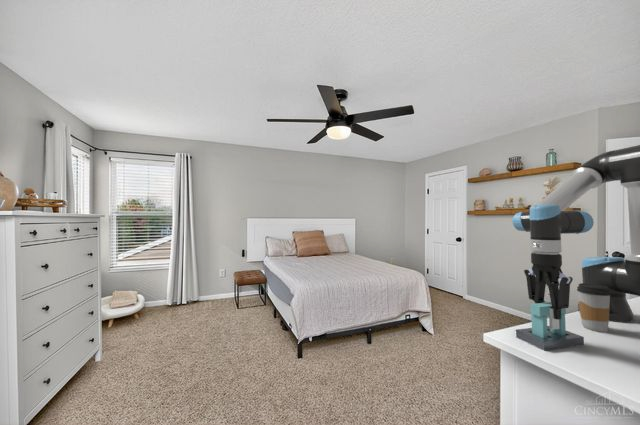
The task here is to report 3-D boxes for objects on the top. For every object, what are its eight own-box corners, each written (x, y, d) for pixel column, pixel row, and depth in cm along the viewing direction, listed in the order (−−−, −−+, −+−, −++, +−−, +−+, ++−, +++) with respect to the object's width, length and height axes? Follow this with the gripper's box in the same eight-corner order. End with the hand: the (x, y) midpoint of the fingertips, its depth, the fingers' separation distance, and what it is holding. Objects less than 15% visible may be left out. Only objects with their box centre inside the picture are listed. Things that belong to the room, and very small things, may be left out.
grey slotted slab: (553, 332, 89) (552, 325, 90) (584, 345, 81) (583, 337, 81) (516, 337, 87) (516, 329, 87) (544, 350, 78) (543, 342, 78)
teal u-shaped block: (555, 334, 86) (554, 301, 87) (567, 339, 83) (566, 304, 83) (530, 338, 84) (529, 303, 85) (541, 343, 81) (540, 307, 81)
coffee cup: (620, 334, 87) (618, 289, 88) (590, 332, 89) (588, 288, 89) (598, 324, 96) (597, 283, 96) (572, 323, 97) (570, 282, 98)
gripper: (513, 250, 92) (515, 318, 91) (563, 256, 76) (567, 338, 75) (530, 249, 93) (533, 316, 92) (584, 255, 77) (587, 336, 77)
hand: (548, 326), depth 84 cm, fingers closed on teal u-shaped block, 3 cm apart
